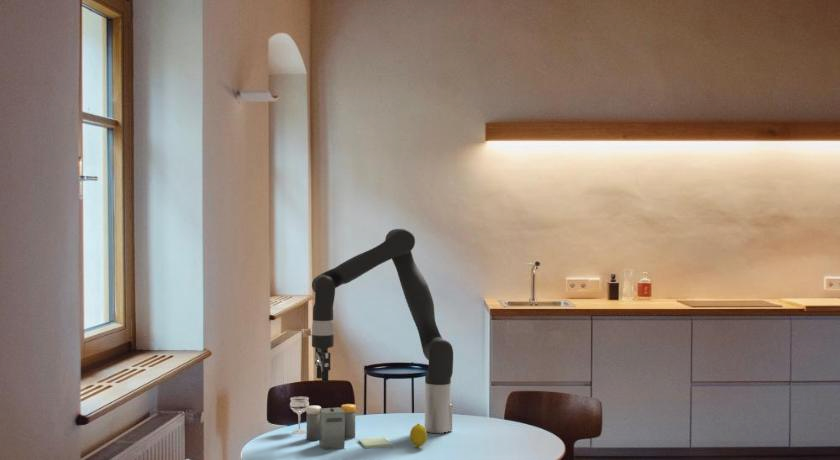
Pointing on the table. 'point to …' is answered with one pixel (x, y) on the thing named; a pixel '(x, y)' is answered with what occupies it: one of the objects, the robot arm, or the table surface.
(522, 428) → the table surface
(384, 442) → the pad
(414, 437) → the lemon
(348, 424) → the cylinder
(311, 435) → the cylinder
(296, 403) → the wineglass
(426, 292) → the robot arm
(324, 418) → the unit
